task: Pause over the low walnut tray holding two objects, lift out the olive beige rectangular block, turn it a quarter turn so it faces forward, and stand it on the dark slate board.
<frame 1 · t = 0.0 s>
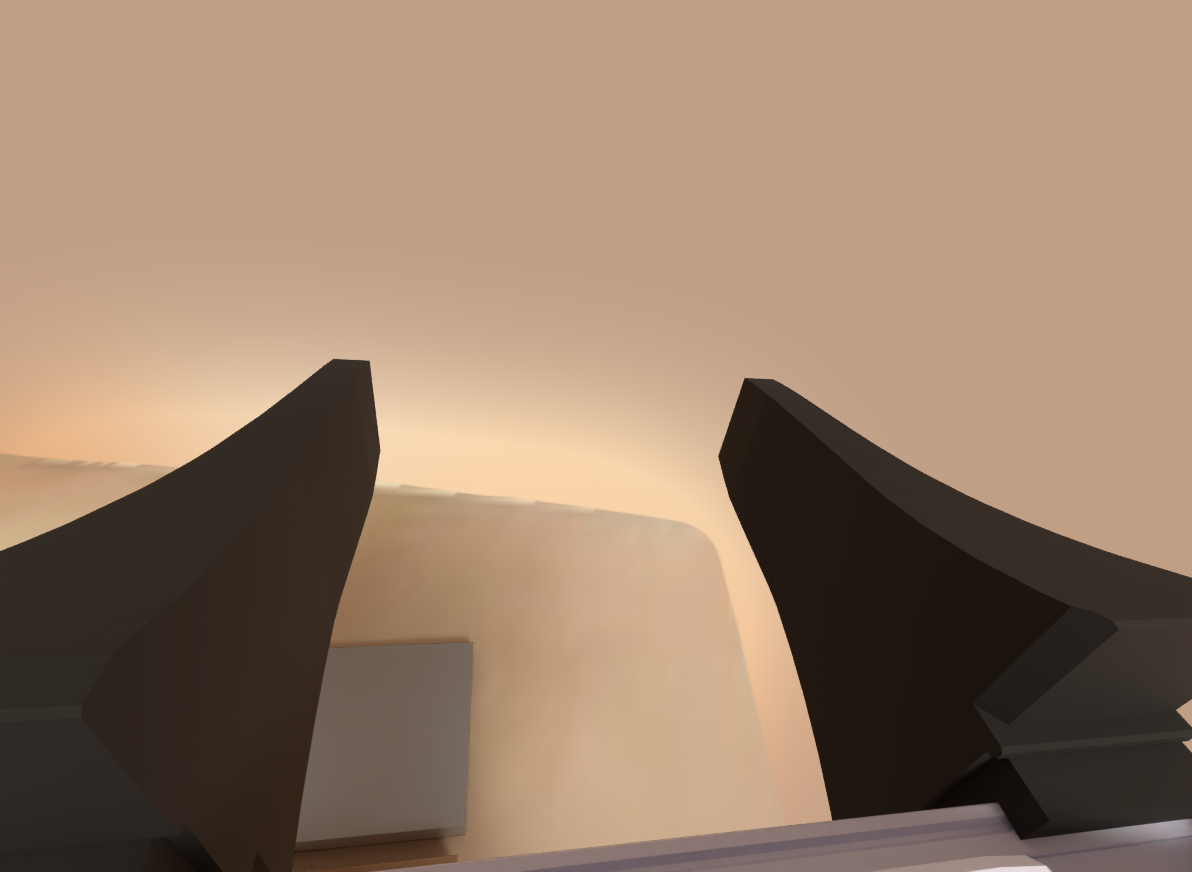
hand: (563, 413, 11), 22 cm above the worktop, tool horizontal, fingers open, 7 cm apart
slate board: (314, 741, 26), on the worktop
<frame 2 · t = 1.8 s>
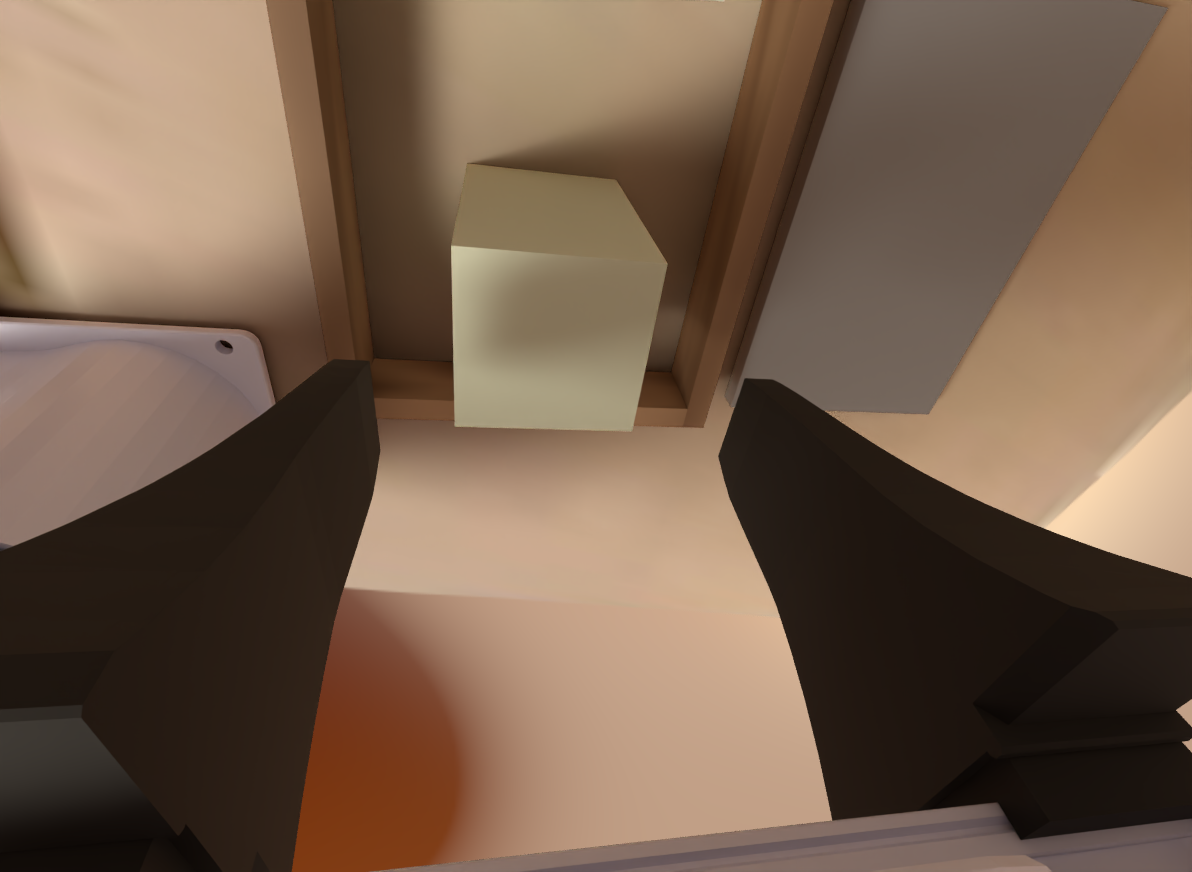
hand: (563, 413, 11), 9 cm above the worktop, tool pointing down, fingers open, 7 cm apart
walnut tray: (549, 85, 16), on the worktop
slate board: (898, 234, 20), on the worktop
olive beige rectangular block: (538, 245, 19), resting in walnut tray
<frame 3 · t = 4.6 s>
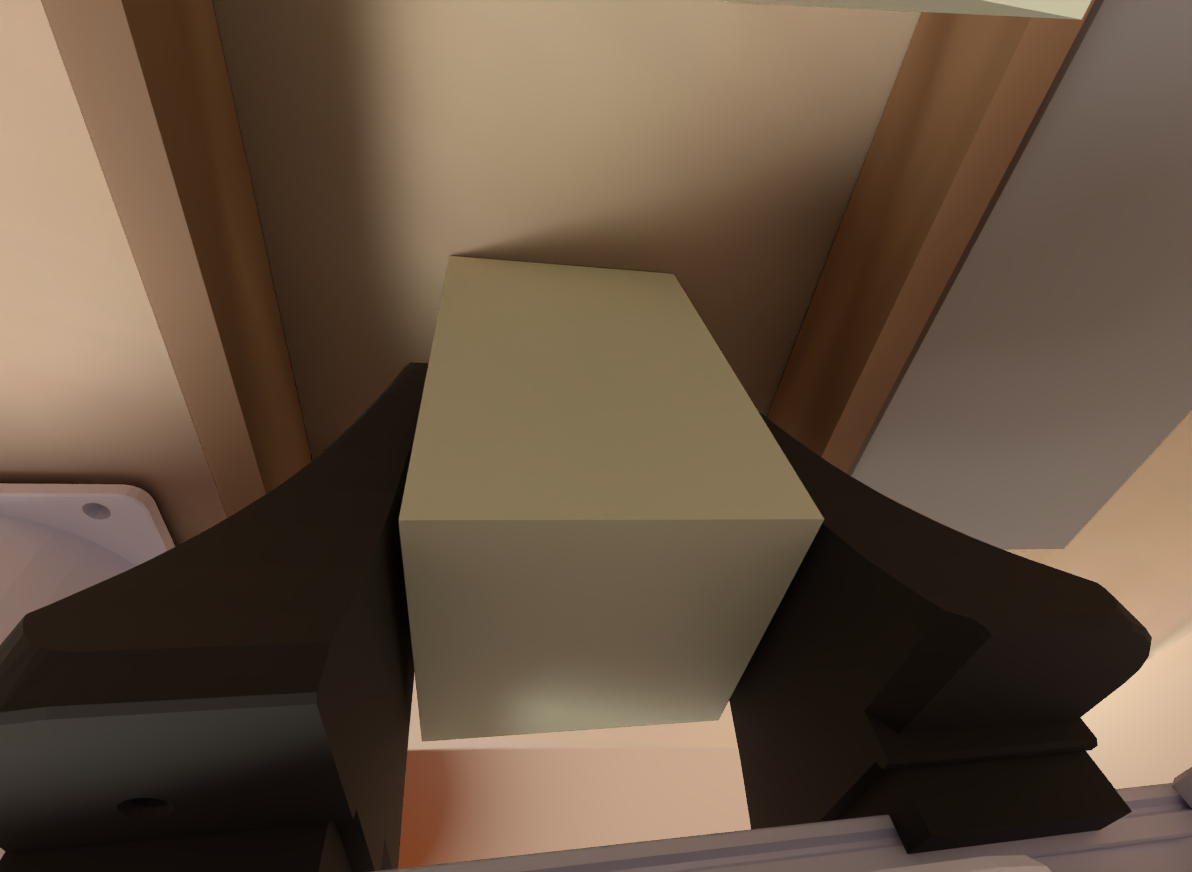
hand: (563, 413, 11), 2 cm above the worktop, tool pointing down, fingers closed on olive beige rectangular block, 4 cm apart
walnut tray: (578, 141, 10), on the worktop
slate board: (1063, 335, 14), on the worktop
olive beige rectangular block: (555, 363, 13), resting in walnut tray, touching gripper
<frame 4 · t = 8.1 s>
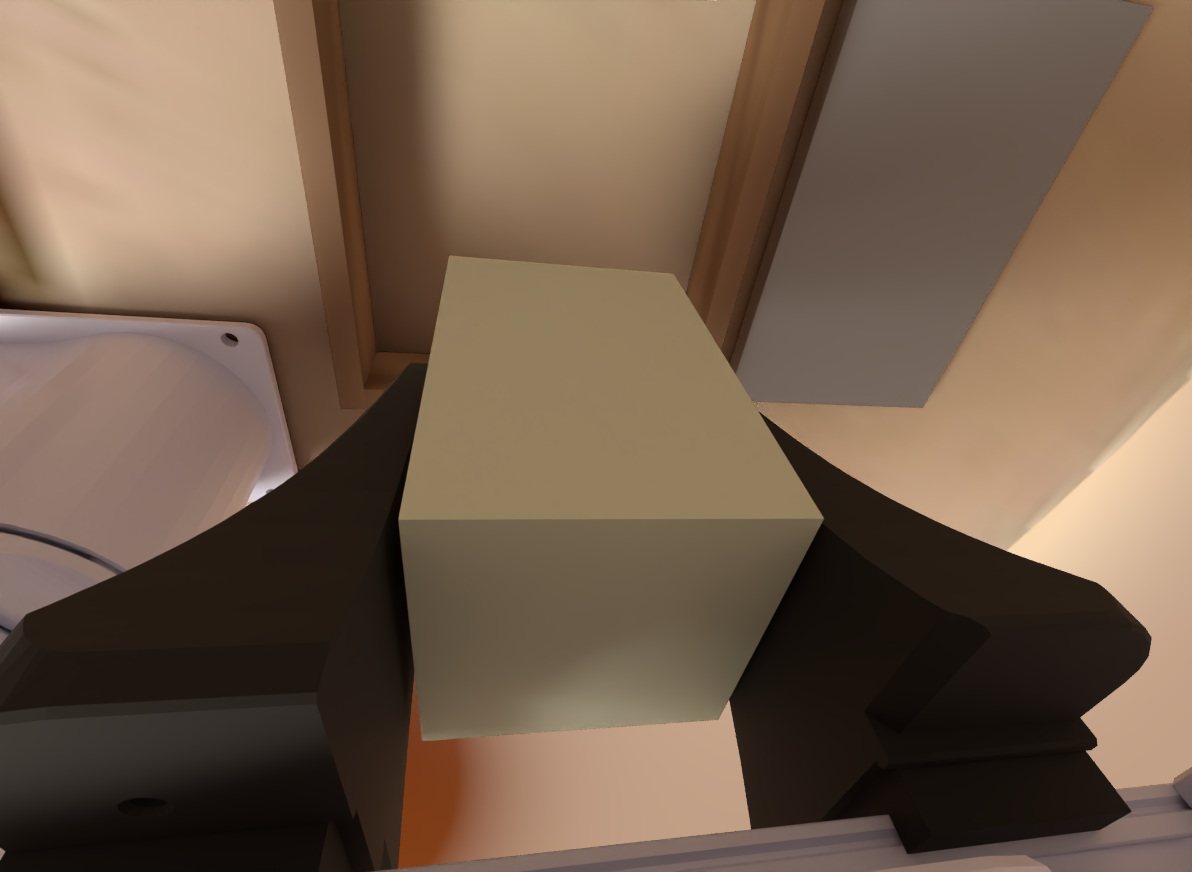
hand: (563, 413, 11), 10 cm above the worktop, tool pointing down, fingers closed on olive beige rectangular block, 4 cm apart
walnut tray: (549, 83, 16), on the worktop
slate board: (892, 229, 20), on the worktop
olive beige rectangular block: (555, 362, 13), point 8 cm above the worktop, touching gripper
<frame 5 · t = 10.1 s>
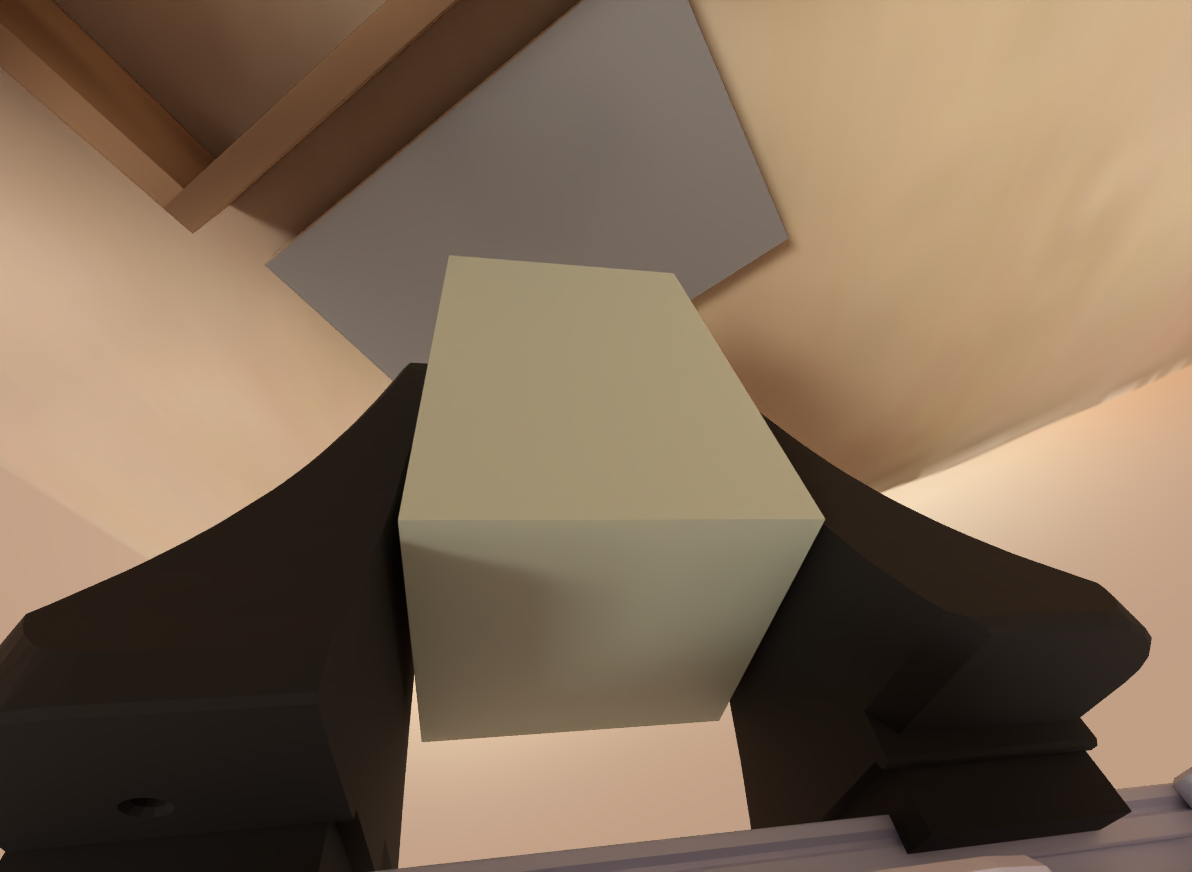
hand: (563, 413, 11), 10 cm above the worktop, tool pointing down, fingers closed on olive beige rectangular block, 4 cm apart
slate board: (537, 242, 19), on the worktop
olive beige rectangular block: (555, 362, 13), point 8 cm above the worktop, touching gripper
when the fingers open (4 cm above the worktop, at t = 11.9 s): olive beige rectangular block stays where it is, resting on slate board.
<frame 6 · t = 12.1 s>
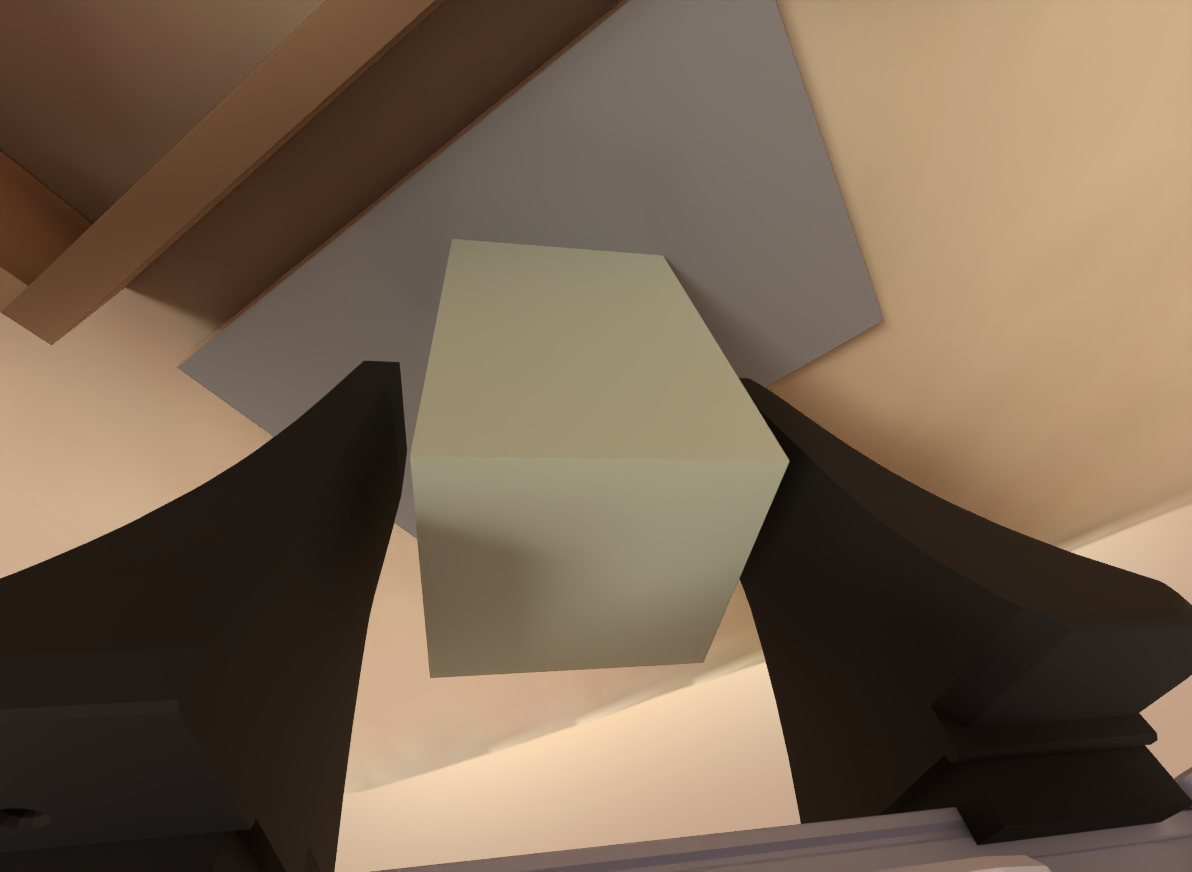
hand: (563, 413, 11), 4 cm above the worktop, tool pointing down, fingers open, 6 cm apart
slate board: (550, 326, 14), on the worktop
olive beige rectangular block: (552, 341, 13), point 1 cm above the worktop, touching slate board
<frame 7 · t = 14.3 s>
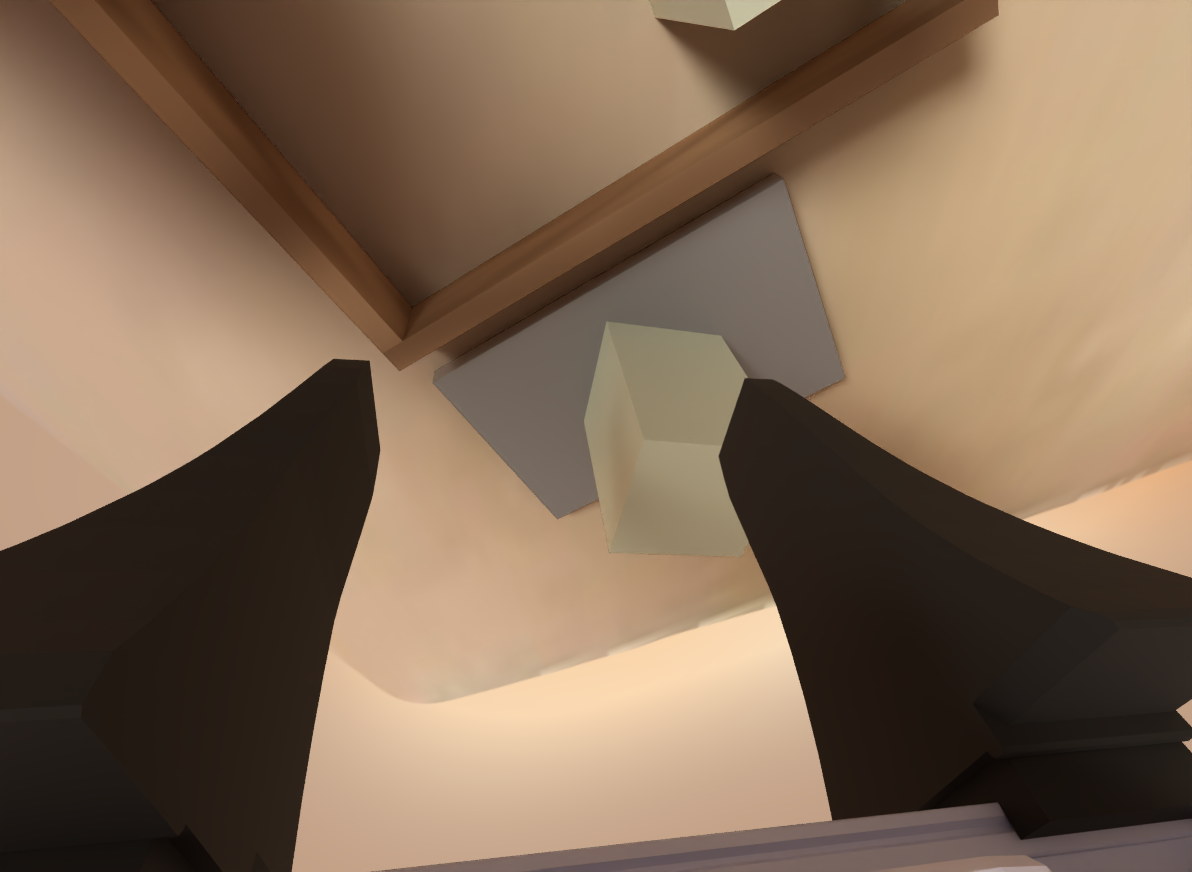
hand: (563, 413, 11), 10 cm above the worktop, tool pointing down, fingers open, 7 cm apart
slate board: (645, 369, 23), on the worktop
olive beige rectangular block: (650, 379, 22), point 1 cm above the worktop, touching slate board
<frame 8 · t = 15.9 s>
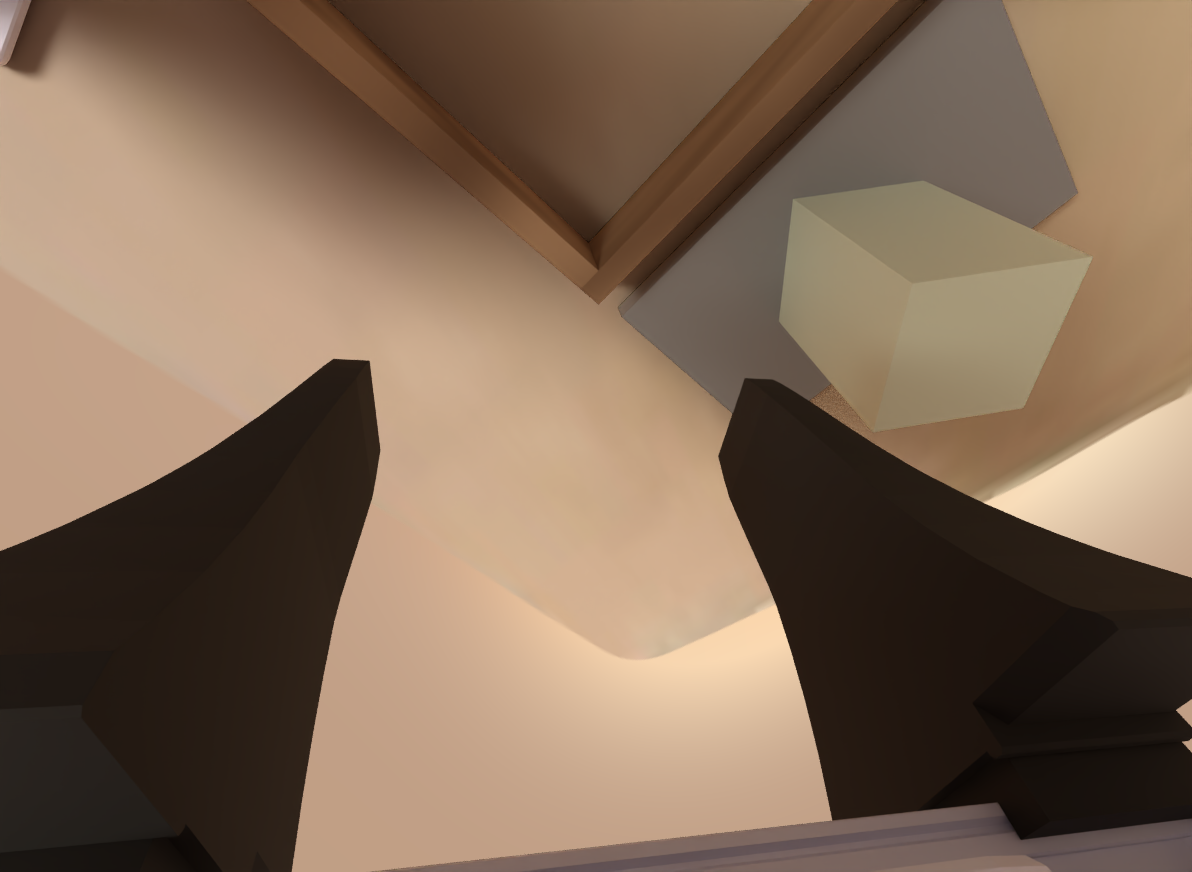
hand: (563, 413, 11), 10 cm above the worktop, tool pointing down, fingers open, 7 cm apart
slate board: (836, 247, 21), on the worktop
olive beige rectangular block: (846, 255, 20), point 1 cm above the worktop, touching slate board
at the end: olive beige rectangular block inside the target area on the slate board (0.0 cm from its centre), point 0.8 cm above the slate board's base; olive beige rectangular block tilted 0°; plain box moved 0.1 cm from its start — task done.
